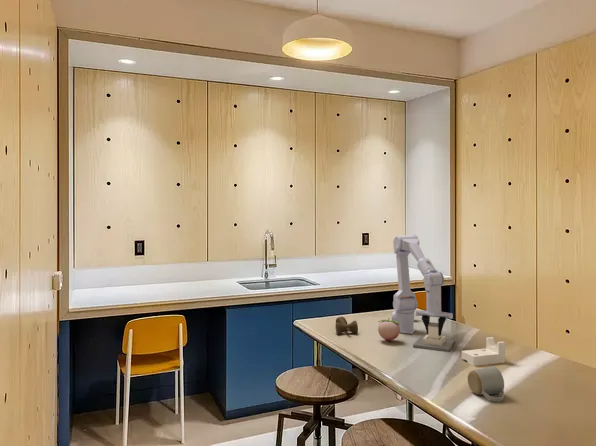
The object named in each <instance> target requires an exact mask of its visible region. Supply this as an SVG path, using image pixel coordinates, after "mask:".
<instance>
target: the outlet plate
mask: <svg viewBox="0 0 596 446" xmlns="http://www.w3.org/2000/svg"><path fill="white" fill-rule="evenodd" d="M455 343H456V340H455V339H449V338H446V336H445V335H441V336H440V339H439V340H436V339H428V334H427V333H426V335H425V336H424V335H423V336H421V335H420V337H418V338H417V340H416V341H415V342H414V343H413V344H412V348H415V349H422V350H423V349H424V350H431V351H432V350H433V351H441V352H448V353H449V352H450V351H451V349H452V348H453V346H454V344H455Z"/></svg>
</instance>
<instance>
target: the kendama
mask: <svg viewBox="0 0 596 446" xmlns="http://www.w3.org/2000/svg"><path fill="white" fill-rule="evenodd" d="M358 327H359V326H358V322H357V320H353V321H352V322H350V323H348V321H347V319H346V318H345V317H344V316H338V317H337V318H336V319H335V333H336V335H337V336H340V335H341V334H343V333H347V332H350V333H352V334H356V335H358V332H359V328H358Z"/></svg>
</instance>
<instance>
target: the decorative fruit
mask: <svg viewBox="0 0 596 446" xmlns="http://www.w3.org/2000/svg"><path fill="white" fill-rule="evenodd" d="M378 323H379V324H378V326H377V327H378V328H377V331H378V334H379V337H380V338H381V339H383V340H385V341H387V342H392V341H394V340H395V339H397V338H398V337H399V336H400V334H401V333H400V327H399V325H400V324H399V323H398V322H397V321H394V320H392V319H391V320H390V318H389V317H388V319H380V320H379V321H378ZM398 324H399V325H398Z"/></svg>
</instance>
